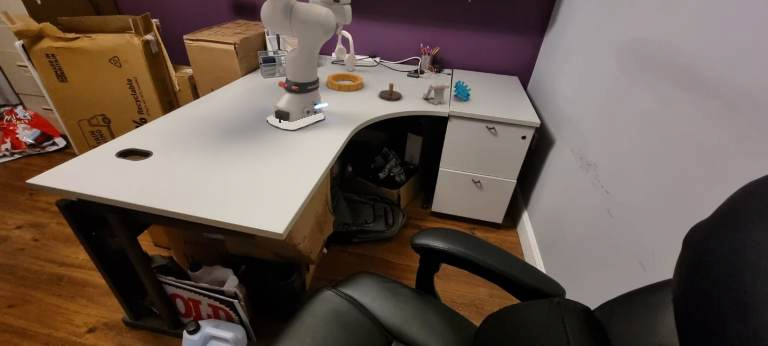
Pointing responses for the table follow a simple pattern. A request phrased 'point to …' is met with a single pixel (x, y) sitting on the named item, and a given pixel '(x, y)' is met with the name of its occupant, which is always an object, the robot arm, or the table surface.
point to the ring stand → (390, 94)
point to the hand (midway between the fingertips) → (329, 32)
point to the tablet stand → (436, 92)
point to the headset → (341, 52)
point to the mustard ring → (344, 86)
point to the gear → (462, 91)
